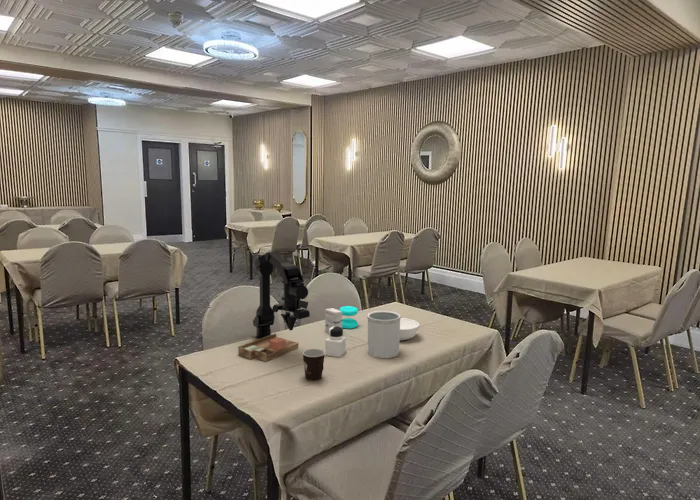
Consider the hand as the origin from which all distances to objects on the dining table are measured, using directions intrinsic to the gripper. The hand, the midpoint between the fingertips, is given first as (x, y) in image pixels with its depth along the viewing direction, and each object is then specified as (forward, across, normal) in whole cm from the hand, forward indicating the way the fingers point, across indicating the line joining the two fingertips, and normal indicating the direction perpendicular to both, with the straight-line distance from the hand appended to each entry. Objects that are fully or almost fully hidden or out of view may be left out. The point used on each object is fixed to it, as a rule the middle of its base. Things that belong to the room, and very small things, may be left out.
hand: (291, 330), depth 199 cm
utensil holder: (+12, -25, -32) cm, 43 cm away
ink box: (+12, +10, -35) cm, 38 cm away
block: (+9, +7, +2) cm, 12 cm away
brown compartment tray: (+12, +11, +3) cm, 16 cm away
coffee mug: (+13, -24, +8) cm, 28 cm away
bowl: (+12, -17, -54) cm, 59 cm away
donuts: (+12, +12, -48) cm, 51 cm away
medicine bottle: (+12, -11, -16) cm, 23 cm away
